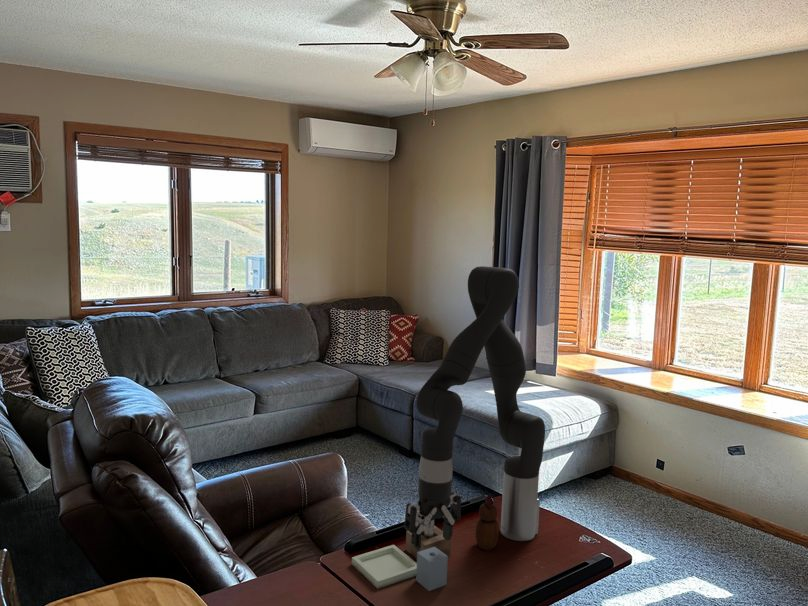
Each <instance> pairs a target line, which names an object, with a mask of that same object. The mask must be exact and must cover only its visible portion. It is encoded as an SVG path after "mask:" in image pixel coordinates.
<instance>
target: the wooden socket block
mask: <svg viewBox="0 0 808 606" xmlns="http://www.w3.org/2000/svg"><path fill="white" fill-rule="evenodd" d="M405 535H406V537H405V551H406V552H408V553H409V554H410V555H411V556H413V557H414V558H415V559H416V560H417V552H419V551H422V550H426V549H429V548H432V547H436V548H437V549H439V550H440V551H441V552H443V553H444V554H445V555H447V556H448V557H450V556H451V546H452V545H451V544H452V538H451V539H450V540H446V539H445V538H443V529H442V530H441V529H440V528H439V527H438V526H436V525H435V524H434V537H432V538H429V539H426V538H425V537H424V528H423V530H422V531H421V548H420V549H416V548H415V547H414V546H413V545H412V543H411V539H412V533H410V532H409V531H407V530H406V532H405Z"/></svg>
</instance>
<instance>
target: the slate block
mask: <svg viewBox="0 0 808 606" xmlns="http://www.w3.org/2000/svg"><path fill="white" fill-rule="evenodd" d="M448 558H449V556H447V555H445V554H444V553H443V552H441V551H440V550H439V549H437V548H436V547H432V548H429V549H426V550H422V551H419V552H417V559H416V563H417V571H416V576H415V578H416V579H415V581H416V582H418V584H420V585H421V586H422V587H423V588H425V589H426V590H427V591H428V592H430V591H433V590H436V589H438V588H441V587H444V586H446V585H447V580H448V560H449V559H448Z"/></svg>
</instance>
